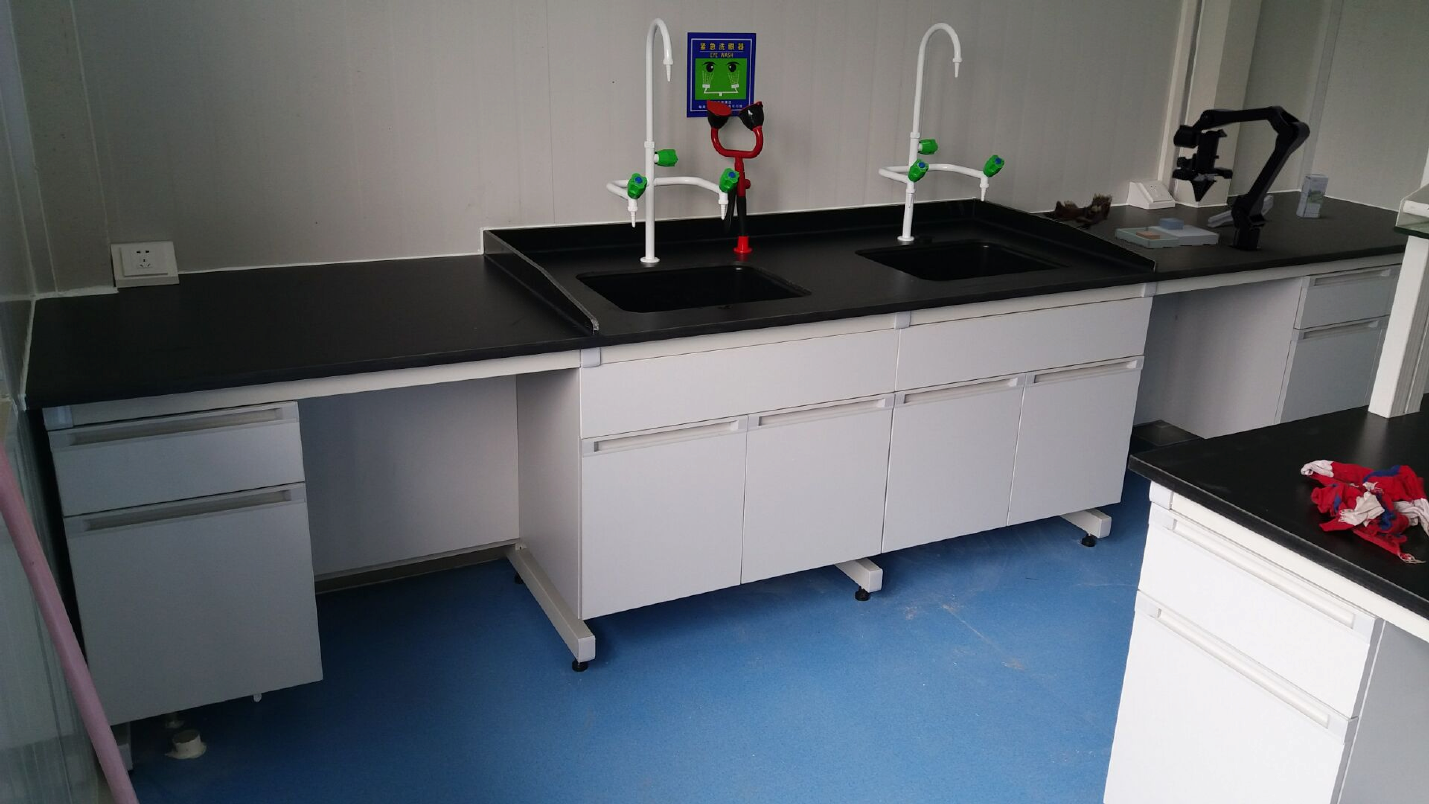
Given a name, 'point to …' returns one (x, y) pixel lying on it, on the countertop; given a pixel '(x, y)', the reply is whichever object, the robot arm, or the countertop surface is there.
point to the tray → (1131, 236)
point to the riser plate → (1187, 235)
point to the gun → (1267, 205)
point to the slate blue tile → (1171, 224)
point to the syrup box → (1312, 195)
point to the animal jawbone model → (1083, 211)
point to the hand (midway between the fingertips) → (1197, 201)
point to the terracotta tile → (1148, 235)
